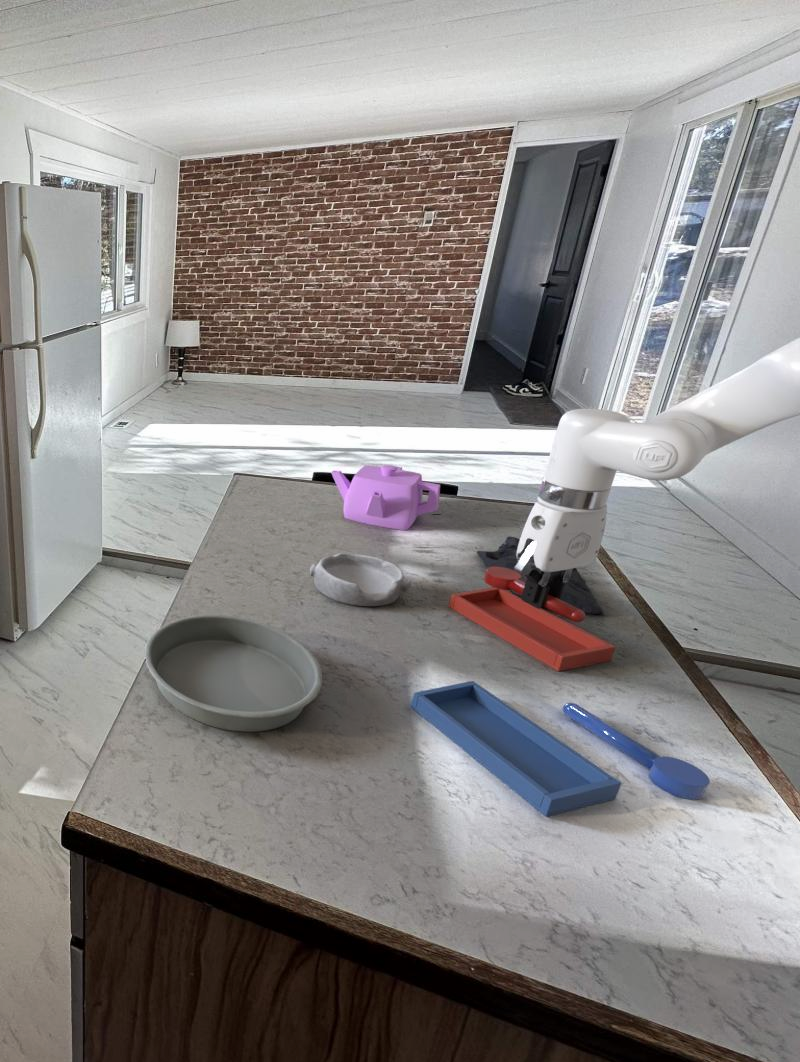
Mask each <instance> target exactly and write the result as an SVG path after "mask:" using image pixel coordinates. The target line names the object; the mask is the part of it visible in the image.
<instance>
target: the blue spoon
mask: <svg viewBox="0 0 800 1062" xmlns="http://www.w3.org/2000/svg"><path fill="white" fill-rule="evenodd" d="M561 709H562V712H563V714H564V715H565V716H566V717H568V718H569V719H571V721H574V722H575V723H577V724H578V725H580V726H582V727H583V728H585V729H586V730H588V731H589V732H591V733H592V734H594V735H595V736H597V737H598V738H600V739H601V740H603V741H605V742H606V743H608V744H609V745H610V746H613V747H614V748H615V749H617V750H619V751H620V752H622V753H623V754H625V755H627V756H628V757H630V758H631V759H633V760H634V761H635V762H637V763H639V764H640V765H642V766H643V767H645V768H647V770H648V772H647V776H648V779H649V780H650V781H651V782H652V783H653V784H654V785H655V786H657V788H659V789H661V790H662V791H664V792H666V793H668V794H670V795H672V796H675V797H677V798H681V799H686V800H691V801H692V800H693V801H695V800H700V799H702V798H704V796H705V794H706V791H707V790H708V788H709V786H710V784H711V780H710V777H709V776H708V775H707V774H706V773H705V771H703V770H702V769H700V768H699V767H698V766H695V765H694V764H692V763H690V762H688V761H685V760H682V759H679V758H676V757H673V756H664V755H663V756H661V755H660V754H658V753H656V752H655V751H653V750H651V749H650V748H648V747H647V746H644V745H643V744H642V743H640V742H638V741H637V740H636V739H633V738H632V737H630V736H629V735H627V734H626V733H624V732H623V731H621V730H619V729H618V728H616V727H615V726H614V725H613V726H612V725H611V724H609V723H608V722H606V721H605V720H603V719H601V717H598V716H597V715H595V714H593V713H592V712H590V711H588V710H587V709H586V708H584V707H582V706H581V705H579V704H577V703H574V702H566V703H565V704H563V705H562V708H561Z"/></svg>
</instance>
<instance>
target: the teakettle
mask: <svg viewBox="0 0 800 1062" xmlns="http://www.w3.org/2000/svg"><path fill="white" fill-rule="evenodd" d="M330 473H331V476H332V478H333V480H334V482H335V486H336V487H337V489H338V491H339V494H340V495H341V498H342V500H343V502H344V503H343V516H344V519H347V520H350V521H354V522H357V523H360V524H361V523H362V524H366V525H370V526H375V527H381V528H386V529H392V530H398V531H408V530H409V529H410V528H411V526H413V524H414V523H415V521H416V519H417V517H418V516H420V515H424V514H429V513H433V512H437V510H438V509H439V505H440V495H441V494H440V493H441V484H438V483H432V482H428V481H424V480H423V477H422V476H423V475H422V473H419V472H416V471H410V470H406V469H405V470H403V467H402V466H396V465H392V464H383V465H380V466H378V465H369V464H368V465H367V464H366V465H364V466H362V467H361V468H360V469H359V470H358V471H357V472H356V473H355V474H354V475H353V477H352V480H351V481H350V480H349V479H348V478H347V477H346V475H345V474H344V473H343V472H342V470H332V471H331V472H330ZM423 491H428V496H427V500H426V501H424V502H423Z"/></svg>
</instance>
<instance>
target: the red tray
mask: <svg viewBox="0 0 800 1062" xmlns="http://www.w3.org/2000/svg"><path fill="white" fill-rule="evenodd" d="M448 608H449V609H452V610H453V611H455V612H457V613H459V614H460V615H461V616H463V617H465V618H467V619H469V620H470V621H472V622H474V623H475V624H477V625H479V626H480V627H482V628H484V629H486V630H487V631H489V632H490V633H493V634H494V635H496V636H497V637H498V638H501V639H502V640H504V641H506V642H508V643H509V644H510V645H513V646H514V647H516V648H518V649H519V650H521V651H523V652H525V653H526V654H527V655H528V656H529V655H530V656H531V657H532V658H534V659H536V660H538V661H540V663H543V664H545V665H547V666H549V667H550V668H552V669H553V670H555V671H557V672H562V671H568V670H572V669H577V668H582V667H587V666H591V665H596V664H602V663H606V662H607V663H608V662H611V661H612V659H613V656H614V653H615V651H616V645H613V644H611V643H609V642H608V641H606V640H604V639H602V638H599V637H598V636H596V635H593V634H592V633H590V632H588V631H586V630H584V629H582V628H580V627H578V626H576V625H574V624H572V623H570V622H568V621H567V620H564V619H562V618H561V617H558V616H556V615H554V614H553V613H551V612H549V611H547V610H545V609H543V608H541V609H538V608H536V607H534V606H532V605H530V604H528V603H526V602H524V601H523V600H522V599H521V598H520V597H518V596H516V595H514V594H512V593H511V592H510V591H509V590H503V589H498V588H495V587H492V586H491V587H488V588H481V589H476V590H470V591H464V592H459V593H452V594H451V596H450V600H449V604H448Z"/></svg>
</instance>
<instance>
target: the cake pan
mask: <svg viewBox="0 0 800 1062" xmlns="http://www.w3.org/2000/svg"><path fill="white" fill-rule="evenodd" d="M148 654H149V655H148ZM145 659H146V661H145V664H146V666H147V669H148V671H149V673H150V674H151V675H152V677H153V678H154V679H155V682H156V685H157V687H158V689H159V692H160V694H161V695H162V696H163V697H164V698H165V700H166V701H167V702H168V703H169V704H170V705H171V706H172V707H173V708H175V709H176V710H178V711H179V712H180V713H182V714H184V715H185V716H187V717H188V718H190V719H193V720H194V721H197V722H198V723H201V724H204V725H207V726H209V727H213V728H217V729H221V730H226V731H232V732H246V733H253V732H255V733H256V732H264V731H269V730H274V729H278V728H280V727H283V726H285V725H287V724H290V723H291V722H292V721H294V720H295V719H297V717H298V716H299V715H300V714H301V713H302V712H303V710H304V709H305V706H307V705H308V704H310V703H311V702H312V701H313V700H314V699H316V697H317V696H318V695H319V692H320V690H321V688H322V685H323V673H322V668H321V666H320V664H319V662H318V660H317V658H316V657H315V656H314V654H313V652H312V651H310V650H309V648H307V647H306V645H304V644H303V643H302V642H300V641H299V640H298V639H296V638H295V637H293V636H292V635H290V634H288V633H287V632H285V631H283V630H281V629H279V628H276V627H274V626H272V625H271V624H270V625H269V624H266V623H264V622H261V621H258V620H254V619H250V618H246V617H242V616H235V615H226V614H199V615H198V614H197V615H191V616H185V617H181V618H177V619H174V620H173V621H170V622H168V623H165V624H164V625H162V626H160V627H159V628H158V629H156V630H155V631H154V632H153V633H152V635H150V637H149V638H148V639H147V642H146V644H145V647H144V660H145Z"/></svg>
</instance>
